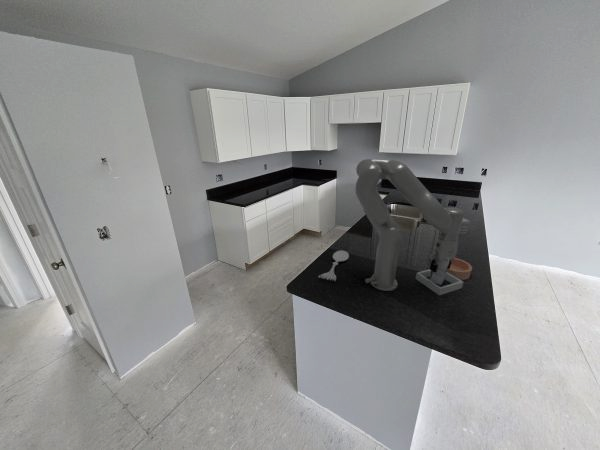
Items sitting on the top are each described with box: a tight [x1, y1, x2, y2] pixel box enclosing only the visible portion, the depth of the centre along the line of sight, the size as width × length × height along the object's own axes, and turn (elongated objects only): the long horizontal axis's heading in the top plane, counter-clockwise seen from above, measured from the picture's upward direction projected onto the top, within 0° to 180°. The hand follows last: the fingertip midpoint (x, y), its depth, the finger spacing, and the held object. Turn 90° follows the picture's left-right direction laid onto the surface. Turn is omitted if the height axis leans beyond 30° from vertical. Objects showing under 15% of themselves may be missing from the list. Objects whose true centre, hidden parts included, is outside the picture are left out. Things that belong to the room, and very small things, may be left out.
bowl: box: [447, 257, 473, 281], centre depth 130 cm, size 14×14×4 cm
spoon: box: [318, 250, 350, 282], centre depth 136 cm, size 9×32×4 cm, turn 156°
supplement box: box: [459, 217, 471, 235], centre depth 179 cm, size 17×13×9 cm
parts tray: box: [415, 268, 464, 296], centre depth 121 cm, size 14×14×4 cm
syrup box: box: [428, 255, 450, 286], centre depth 118 cm, size 6×6×14 cm
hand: (439, 269), depth 118 cm, fingers closed on syrup box, 7 cm apart
